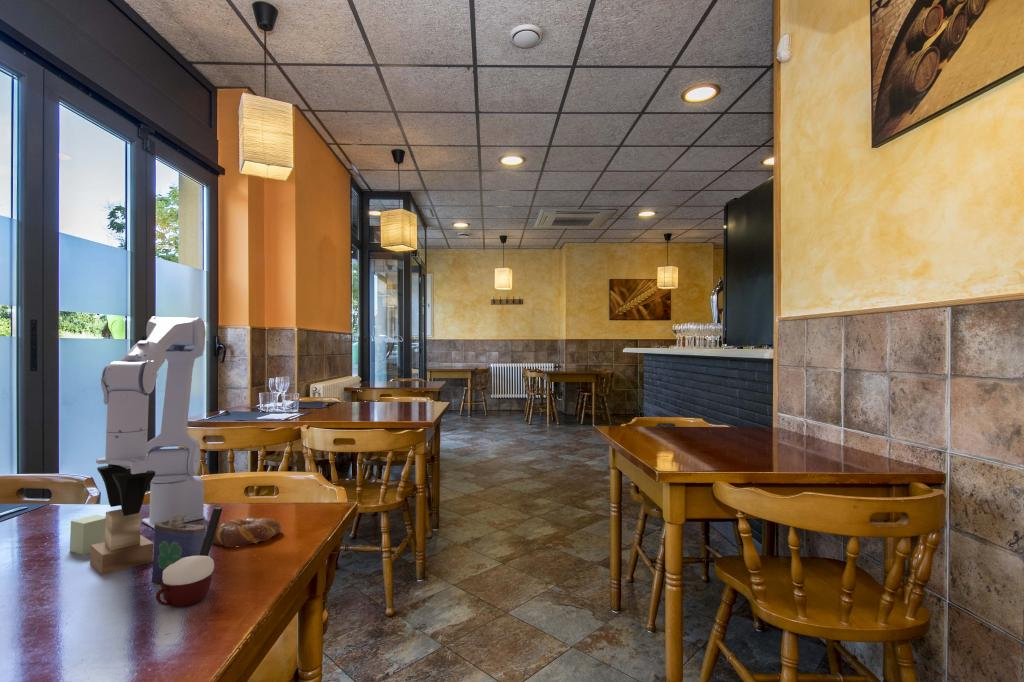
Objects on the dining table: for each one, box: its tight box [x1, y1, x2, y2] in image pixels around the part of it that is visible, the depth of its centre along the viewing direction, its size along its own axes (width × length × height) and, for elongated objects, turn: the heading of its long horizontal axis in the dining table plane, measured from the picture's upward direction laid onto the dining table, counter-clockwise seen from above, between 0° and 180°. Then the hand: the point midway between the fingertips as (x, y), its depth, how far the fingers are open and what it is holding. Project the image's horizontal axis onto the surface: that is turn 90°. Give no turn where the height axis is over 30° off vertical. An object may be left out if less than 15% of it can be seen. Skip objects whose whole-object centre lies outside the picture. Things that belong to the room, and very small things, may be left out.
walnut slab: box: [89, 534, 154, 576], centre depth 86 cm, size 7×7×4 cm
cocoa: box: [155, 506, 223, 608], centre depth 73 cm, size 10×6×12 cm, turn 139°
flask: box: [151, 513, 207, 586], centre depth 79 cm, size 9×3×11 cm, turn 74°
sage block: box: [69, 514, 106, 556], centre depth 92 cm, size 4×4×6 cm
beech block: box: [105, 508, 142, 550], centre depth 86 cm, size 4×4×6 cm
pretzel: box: [212, 517, 282, 548], centre depth 99 cm, size 12×11×4 cm
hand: (124, 509), depth 87 cm, fingers open, 7 cm apart
